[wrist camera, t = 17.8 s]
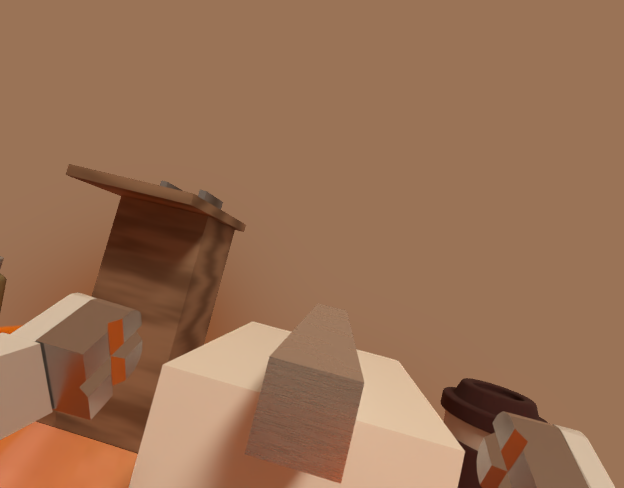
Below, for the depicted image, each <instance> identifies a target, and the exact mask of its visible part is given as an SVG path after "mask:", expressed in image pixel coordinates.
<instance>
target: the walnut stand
mask: <svg viewBox="0 0 624 488" xmlns="http://www.w3.org/2000/svg"><path fill="white" fill-rule="evenodd" d="M66 175H68V176H71V177H74V178H76V179H78V180H81V181H84V182H86V183H89V184H91V185H94V186H97V187H99V188H102V189H104V190H107V191H110V192H112V193H115V194H117V195H120V196H121V199H120V203H119V206H118V209H117V213H116V216H115V219H114V223H113V226H112V229H111V233H110V236H109V240H108V243H107V246H106V250H105V253H104V256H103V260H102V263H101V266H100V270H99V273H98V277H97V280H96V283H95V287H94V290H93V293H92V297H94V298H99V299H102V300H106V301H109V302H112V303H116V304H119V305H122V306H125V307H129V308H132V309H135V310H137V311H139V312H140V313H141V319H142V325H141V326H140V327H139V328H138V329H137V330H136V331H137V333H138V334H139V336H140V337H141V339H142V352H141V357H140V360H139V362H138V363H137V365H136V367H135V369H134V371H133V372H132V373H131V375H130V376H129V377H128V378H127V379H126V380H125V381H123V382H120V383H118V384H116V385H113V395H112V397H111V398H110V399H109V400H108V401H107V402H106V403H105V405H104V406H103V407H102V408H101V409H100V410H99V411H98V412H97V414H96V415H95V416H94V417H93V418H92V419H91V420H88V419H84V418H81V417H77V416H74V415H70V414H66V413H63V412H59V411H55V410H52V411H53V412H52V413H50V414H48V415H46V416H44V417H43V418H41V419H39V420H37V422H40V423H44V424H47V425H50V426H53V427H56V428H60V429H63V430H66V431H69V432H72V433H75V434H79V435H82V436H85V437H88V438H91V439H95V440H98V441H101V442H104V443H107V444H110V445H114V446H117V447H120V448H123V449H126V450H129V451H133V452H136V453H138V452H139V448H140V445H141V441H142V438H143V434H144V430H145V427H146V423H147V420H148V416H149V412H150V409H151V405H152V402H153V398H154V394H155V391H156V387H157V384H158V380H159V376H160V373H161V369H162V366H163V364H165V363H167V362H169V361H171V360H173V359H175V358H178V357H180V356H182V355H184V354H186V353H188V352H190V351H192V350H194V349H196V348H198V347H201V346H203V345H204V341H205V337H206V334H207V331H208V327H209V323H210V319H211V315H212V312H213V308H214V305H215V301H216V297H217V293H218V290H219V286H220V282H221V279H222V275H223V271H224V267H225V264H226V260H227V256H228V252H229V249H230V245H231V241H232V238H233V234H234V230H238V231H243V232H244V230H245V226H246V225H245V224H244V223H242V222H240V221H239V220H237V219H235V218H234V217H232V216H230V215H229V214H227V213H225V212H223V211H222V210H221V207H222V203H223V202H222V201H220V200H219V199H217V198H216V197H214V196H213V195H211V194H209V193H208V192H207V191H203V190H200V191H199V195H198V196H197V195H195V194H192V193H188V192H184V191H182V190H181V189H179V188H177V187H175V186H174V185H172V184H170V183H168V182H165V181H161V184H160V186H159V185H155V184H151V183H146V182H142V181H138V180H134V179H130V178H125V177H121V176H117V175H113V174H109V173H105V172H100V171H96V170H92V169H88V168H84V167H79V166H75V165H71V164H69V166H68V169H67V172H66Z"/></svg>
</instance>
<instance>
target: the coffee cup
mask: <svg viewBox="0 0 624 488" xmlns="http://www.w3.org/2000/svg"><path fill="white" fill-rule="evenodd" d="M441 405H442V406H443V407H444V408H445V409H446V411H445V417H444V424H445V425H446V426H447V428H448V429H449V430H450V432H451V433H452V434H453V436H454V437H455V438H456V440H457V441H458V443H459V444H460V445H461V447H462V448H463V449H464V451H465V455H464V459H463V464H462V469H461V474H460V479H459V483H458V488H482V487H481V486H480V483H479V479H478V474H477V455H478V449H479V446H480V444H481V442H482V441H483V439H484V437H486V436H488V435H490V434H493V433H495V430H494V427H493V421H494V420H495V418H496V416H497V415H498V414H499V413H501V412H502V411H504V412H508V413H512V414H516V415H519V416H523V417H527V418H531V419H534V420H538V421H542V422H545V423H547V422H546V421H545V420H544V419H542V418H540V417H539V415H538V411H537V406H536V404H535V403H534V402H533V401H532V400H530V399H529V398H527V397H525V396H523V395H521V394H519V393H516V392H514V391H511V390H509V389H506V388H504V387H500V386H497V385H494V384H491V383H487V382H483V381H480V380H475V379H468V378H466V379H463V380H462V381H461V382H460V384H459V385H458V386H457V387H456V388H455V387H447V388H445V389H444V390H443V393H442V398H441Z"/></svg>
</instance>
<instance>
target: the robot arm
mask: <svg viewBox="0 0 624 488" xmlns="http://www.w3.org/2000/svg"><path fill="white" fill-rule="evenodd" d="M141 325H142V319H141V313H140V312H139V311H137V310H135V309H132V308H129V307H125V306H122V305H119V304H116V303H112V302H109V301H106V300H102V299H99V298H94V297H90V296H88V295H84V294H81V293H74V294H70V295H68V296H67V297H65V298H64V299H62V300H61V301H59V302H58V303H56V304H55V305H54V306H52V307H50V308H49V309H47V310H46V311H44V312H43V313H42V314H40V315H38V316H37V317H35V318H34V319H32V320H31V321H30V322H28V323H26V324H25V325H23V326H22V327H20V328H19V329H17V330H16V331H14V332H13V333H11V334H7V333H0V440H1V439H3V438H5V437H7V436H9V435H10V434H12V433H14V432H16V431H18V430H20V429H22V428H24V427H26V426H27V425H29V424H31V423H33V422H35V421H37V420H39V419H41V418H43V417H44V416H46V415H48V414H50V413H52V412H53V411H52V410H55V411H59V412H63V413H66V414H70V415H74V416H77V417H81V418H84V419H88V420H91V419H92V418H93V417H94V416H95V415H96V414H97V412H98V411H99V410H100V409H101V408H102V407H103V406H104V405H105V403H106V402H107V401H108V400H109V399H110V398H111V397H112V395H113V385H116V384H118V383H120V382H123V381H125V380H126V379H127V378H128V377H129V376H130V375H131V373H132V372H133V371H134V369H135V367H136V365H137V363H138V362H139V360H140V357H141V352H142V339H141V337H140V336H139V334H138V333H137V331H136V330H137V329H138V328H139V327H140V326H141ZM493 427H494V430H495V433H493V434H490V435H488V436H486V437H484V439H483V441H482V442H481V444H480V446H479V449H478V455H477V474H478V479H479V483H480V486H481V487H482V488H615V486H614V485H613V483H612V481H611V479H610V478H609V476H608V474H607V473H606V471H605V469H604V467H603V465H602V464H601V462H600V460H599V458H598V456H597V455H596V453H595V451H594V450H593V448H592V446H591V444H590V442H589V441H588V439H587V437H586V436H584V435H583V434H582V433H581V432H580V431H576V430H573V429H569V428H565V427H562V426H558V425H551V424H549V423H545V422H542V421H538V420H534V419H531V418H527V417H523V416H519V415H516V414H512V413H508V412H504V411H502V412H501V413H499V414H498V415H497V416H496V418H495V420H494V421H493Z"/></svg>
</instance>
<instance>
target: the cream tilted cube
mask: <svg viewBox="0 0 624 488" xmlns="http://www.w3.org/2000/svg"><path fill="white" fill-rule="evenodd" d="M290 333H291V332H290V331H286V330H282V329H279V328H275V327H271V326H268V325H264V324H260V323H256V322H251V323H249V324H247V325H244V326H242V327H240V328H238V329H236V330H234V331H232V332H230V333H228V334H226V335H224V336H222V337H219V338H217V339H215V340H213V341H211V342H209V343H207V344H205V345H203V346H201V347H198V348H196V349H194V350H192V351H190V352H188V353H186V354H184V355H182V356H180V357H178V358H175V359H173V360H171V361H169V362H167V363H165V364H163V366H162V369H161V373H160V376H159V380H158V384H157V387H156V391H155V394H154V398H153V402H152V405H151V409H150V412H149V416H148V420H147V423H146V427H145V430H144V434H143V438H142V441H141V445H140V448H139V452H138V456H137V459H136V463H135V466H134V470H133V474H132V477H131V481H130V485H129V488H458V483H459V479H460V474H461V469H462V464H463V459H464V455H465V451H464V449H463V448H462V447H461V445H460V444H459V443H458V441H457V440H456V438H455V437H454V436H453V434H452V433H451V432H450V430H449V429H448V428H447V426H446V425H445V424H444V422H443V421H442V420H441V418H440V417H439V415H438V414H437V413H436V411H435V410H434V409H433V407H432V406H431V405H430V403H429V402H428V401H427V399H426V398H425V396H424V395H423V394H422V392H421V391H420V390H419V389H418V387H417V386H416V384H415V383H414V382H413V380H412V379H411V377H410V376H409V375H408V373H407V372H406V371H405V369H404V368H403V367H402V365H401V364H400V362H399V361H398V360H394V359H390V358H386V357H383V356H379V355H376V354H372V353H368V352H364V351H361V350H357V349H356V350H357V354H358V358H359V362H360V366H361V370H362V374H363V379H364V387H363V391H362V395H361V400H360V404H359V408H358V413H357V417H356V421H355V425H354V430H353V434H352V438H351V443H350V447H349V451H348V455H347V460H346V464H345V468H344V473H343V477H342V481H341V484H340V483H337V482H334V481H330V480H327V479H324V478H321V477H317V476H314V475H311V474H308V473H304V472H301V471H298V470H295V469H291V468H288V467H285V466H281V465H278V464H275V463H272V462H268V461H265V460H262V459H259V458H255V457H252V456H249V455H246V454H245V450H246V446H247V442H248V439H249V435H250V431H251V427H252V423H253V419H254V415H255V411H256V407H257V403H258V399H259V395H260V392H261V388H262V384H263V380H264V376H265V372H266V368H267V364H268V360H269V356H270V355H271V354H272V353H273V352H274V351H275V350H276V349H277V348H278V346H279V345H280V344H281V343H282V342H283V341H284V340H285V339H286V338H287V337H288V336H289V334H290Z"/></svg>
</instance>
